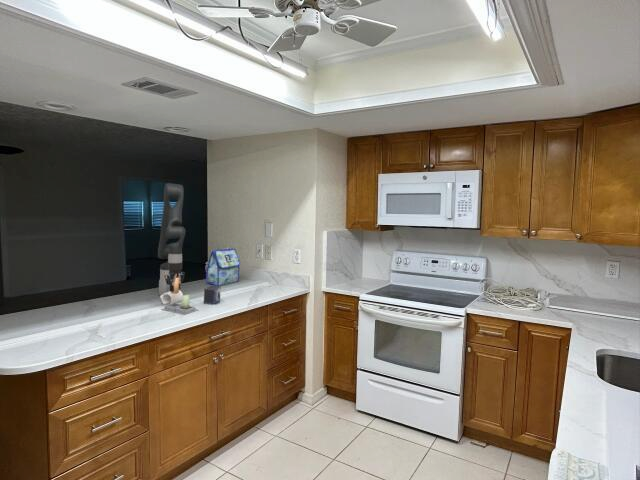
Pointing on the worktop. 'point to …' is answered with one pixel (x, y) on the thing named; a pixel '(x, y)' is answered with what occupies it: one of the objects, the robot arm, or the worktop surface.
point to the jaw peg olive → (185, 301)
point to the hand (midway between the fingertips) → (174, 290)
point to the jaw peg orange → (176, 286)
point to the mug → (171, 297)
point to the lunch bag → (223, 267)
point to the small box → (212, 295)
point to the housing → (178, 309)
